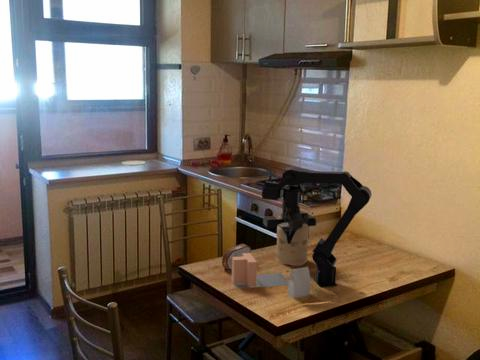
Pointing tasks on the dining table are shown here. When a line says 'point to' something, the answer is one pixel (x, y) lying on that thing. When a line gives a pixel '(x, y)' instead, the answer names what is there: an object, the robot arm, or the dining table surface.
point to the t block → (244, 269)
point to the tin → (234, 254)
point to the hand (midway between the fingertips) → (288, 243)
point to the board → (265, 281)
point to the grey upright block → (299, 282)
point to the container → (292, 247)
